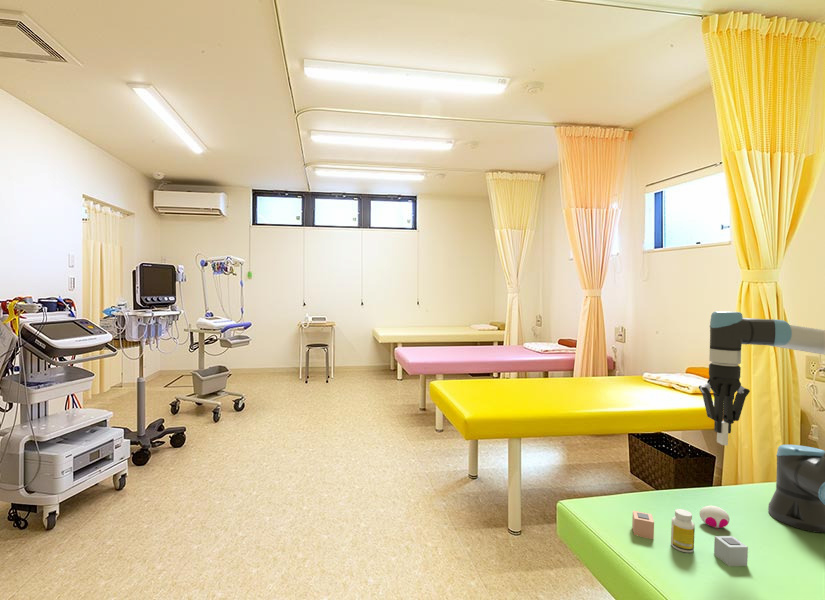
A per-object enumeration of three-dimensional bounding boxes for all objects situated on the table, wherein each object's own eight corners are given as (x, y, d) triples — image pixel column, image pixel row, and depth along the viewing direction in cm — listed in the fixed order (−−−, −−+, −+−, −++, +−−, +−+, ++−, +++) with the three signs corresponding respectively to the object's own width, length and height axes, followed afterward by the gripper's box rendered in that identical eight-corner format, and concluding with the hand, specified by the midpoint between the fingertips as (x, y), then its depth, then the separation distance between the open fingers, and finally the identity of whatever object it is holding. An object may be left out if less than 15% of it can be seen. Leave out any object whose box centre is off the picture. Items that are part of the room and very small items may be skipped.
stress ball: (702, 537, 129) (706, 525, 125) (695, 512, 135) (698, 500, 132) (731, 541, 127) (736, 529, 123) (723, 515, 133) (727, 503, 129)
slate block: (731, 554, 115) (732, 535, 115) (747, 566, 110) (747, 546, 110) (714, 554, 115) (714, 535, 115) (728, 566, 110) (729, 546, 110)
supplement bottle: (697, 554, 115) (698, 518, 114) (675, 551, 116) (676, 516, 116) (688, 543, 120) (689, 508, 120) (667, 540, 121) (668, 506, 121)
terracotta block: (651, 530, 126) (651, 513, 126) (653, 539, 121) (654, 521, 121) (632, 527, 128) (632, 509, 128) (633, 535, 123) (634, 517, 123)
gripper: (740, 362, 128) (738, 440, 128) (694, 361, 130) (691, 438, 130) (757, 366, 121) (754, 449, 121) (708, 365, 122) (705, 446, 123)
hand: (722, 443), depth 126 cm, fingers closed
